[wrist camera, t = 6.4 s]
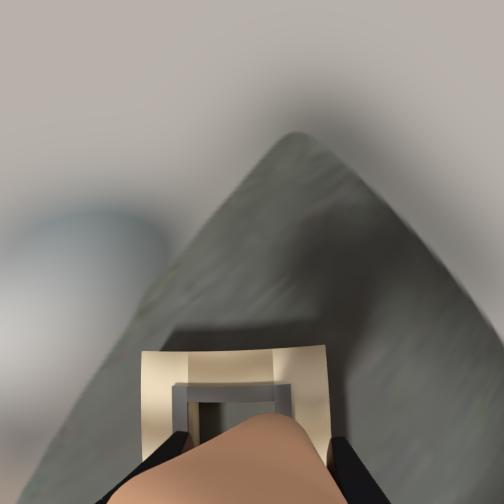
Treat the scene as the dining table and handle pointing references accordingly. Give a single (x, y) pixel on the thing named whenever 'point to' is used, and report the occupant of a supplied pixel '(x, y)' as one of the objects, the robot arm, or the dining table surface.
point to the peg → (240, 470)
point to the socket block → (233, 389)
